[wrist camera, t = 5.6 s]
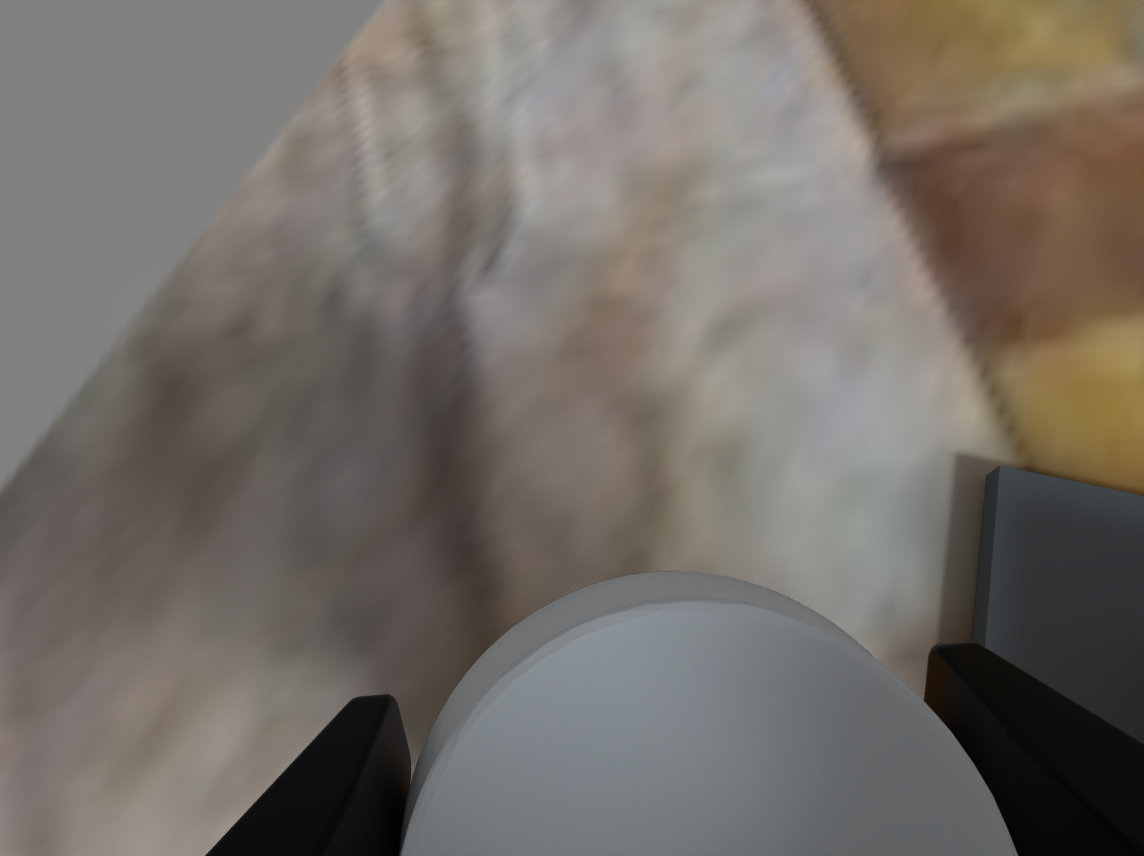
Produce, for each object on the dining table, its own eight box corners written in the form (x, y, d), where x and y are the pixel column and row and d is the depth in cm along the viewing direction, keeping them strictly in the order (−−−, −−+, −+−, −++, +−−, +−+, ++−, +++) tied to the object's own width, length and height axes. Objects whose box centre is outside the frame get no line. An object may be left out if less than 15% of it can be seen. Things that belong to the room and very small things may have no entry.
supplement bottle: (845, 968, 13) (1354, 1508, 4) (509, 1001, 13) (255, 1599, 4) (782, 624, 15) (1029, 454, 6) (488, 655, 15) (282, 536, 6)
